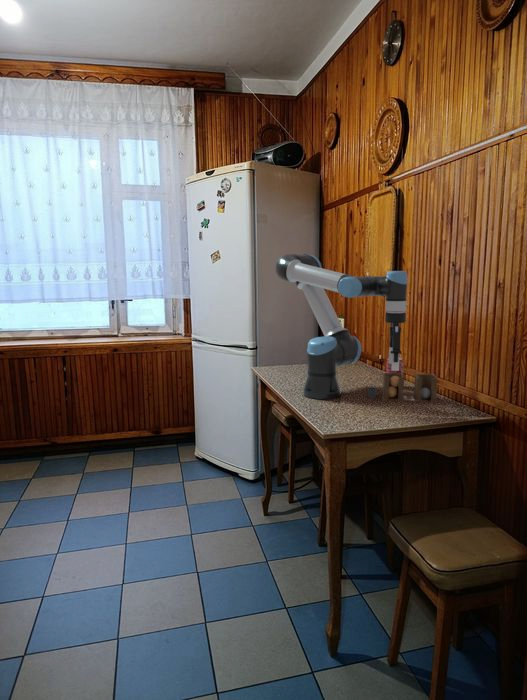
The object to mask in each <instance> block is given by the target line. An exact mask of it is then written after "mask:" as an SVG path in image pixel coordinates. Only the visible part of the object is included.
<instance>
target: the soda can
mask: <svg viewBox="0 0 527 700" xmlns="http://www.w3.org/2000/svg"><path fill="white" fill-rule="evenodd" d="M391 367H392V364H389V357H387V360H386V361H385V373H402V374H403V375H404V361H403V358H402V357H400V359H399V371H392V370H391Z"/></svg>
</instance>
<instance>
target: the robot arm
mask: <svg viewBox="0 0 527 700" xmlns="http://www.w3.org/2000/svg"><path fill="white" fill-rule="evenodd" d="M274 268H275V269H274V270H275V273H276V275H277V277H278V278H279V279H281V280H282V281H284V282H286V281H287V282H290V283H295V285H296V287H297V289H298V290H302V291H303V294H304V296H305V298H306V300H307V302H308V304H309V306H310V309H311V311H312V312H313V315H314V317H315V319H316V321H317V324H318V325H319V327H320V329H321V331H322V333H323V335H324V336H317V337H314V338H311V339H309V341H308V343H307V349H306V352H307V355H306V356H307V362H306V363H307V376H306V379H305V383H304V386H303V388H302V395H303V396H304V397H307V398H309V399H315V400H316V399H317V400H331V399H336V398H339V397H340V396H341V388H340V385H339V381H338V379H337V367H342V366H349V365H350V364H354V363H356V362H357V361H358V360H359V359H360V357H361V353H362V343H361V342H360V340H359V339H358V337H355V336H353V335H351V333H350V332H349V329H348V328H345V327H343V325H342V323H341V321H340V319H339V317H338V315H337V313H336V311H335V309H334V307H333V305H332V303H331V300H330V299H329V296H328V294H327V292H326V290H328V291H331V292H334V293H338V294H340V295H341V296H342V297H344V298H350V299H352V298H359V297H378V296H379V297H382V296H383V297H385V311H386V312H385V315H384V316H385V317H384V318H385V319H384V320H385V323H387V324H389V342H388V344H389V345H388V346H389V350H388V351H389V353H388V358H389V364H392V367H391V370H392V371H399V359H400V358H401V357H400V354H401V332H402V327H401V326H400V324H405V323H406V321H407V313H406V311H407V307H408V305H409V303H408V302H407V293H408V292H407V291H408V284H409V283H408V273H407V271H405V270H388V271H387V272H386V276H378V275H377V276H375V275H374V276H373V275H366V276H354V275H351V274H346V273H343V272H338V271H335V270H330V269H327V268H322V263H321V261H320V260H319V259H318V258H317V257H316V256H315V255H313V254H308V253H306V254H305V253H303V254H293V253H287V254H283V255H282V256H280V257H279V258H278V259H277V261H276V262H275V266H274Z"/></svg>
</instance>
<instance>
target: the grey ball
mask: <svg viewBox="0 0 527 700" xmlns="http://www.w3.org/2000/svg"><path fill="white" fill-rule="evenodd" d="M430 396H431V391H430V390H429V389H428V388H422V394H421V398H423V399H428V398H429V397H430Z"/></svg>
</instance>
